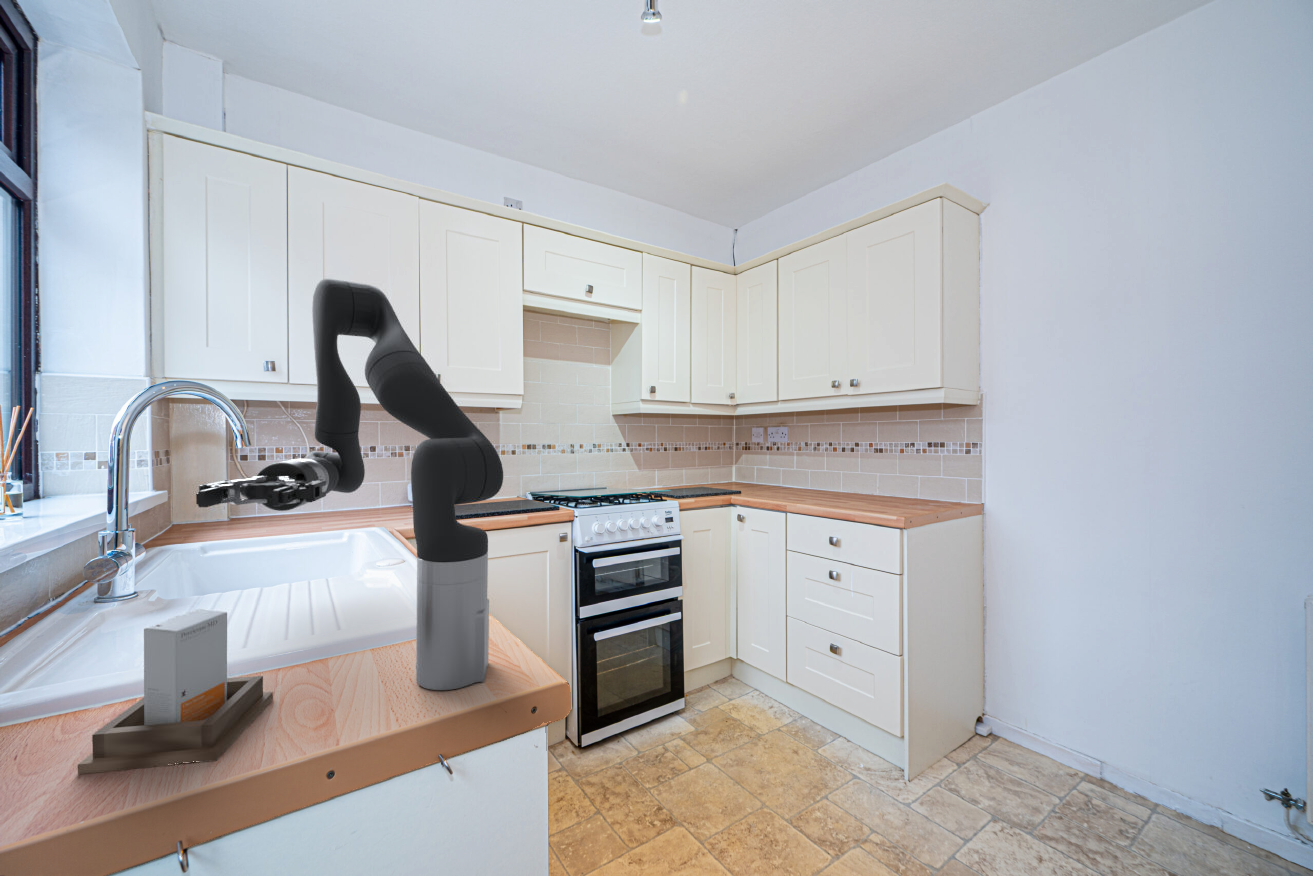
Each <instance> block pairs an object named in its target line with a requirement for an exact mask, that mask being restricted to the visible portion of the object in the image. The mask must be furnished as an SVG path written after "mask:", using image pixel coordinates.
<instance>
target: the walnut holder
mask: <svg viewBox="0 0 1313 876" xmlns="http://www.w3.org/2000/svg"><path fill="white" fill-rule="evenodd" d="M273 697H274V692H273V691H266V692H265V691H264V676H263V675H254V676H242V677H241V676H240V677H229V678H228V677H227V702H226V703H225V704H224V705H223V706H221V707H220V708H219V709H218V710H217V711H216V712H215V713H214V714H213V715H212V716H211V717H210V718H209V719H208V720H201V721H189V722H177V723H166V724H154V725H144V697H142V698H141V699H140V700H138V701H137V702H135V703H134V704H132V705H131V706H130V707H129V708H127V709H126V710H124V711H123V712H122V713H120V714H119V715H117V716H116V717H115V718H113V719H112V720H110V721H109V722H108V723H107V724H105V725H103V726H102V727H101V728H100V729H98V730H97V731H95V732H94V733H93V734H92V735H91V737H92V738H91V739H92V740H91V741H92V753H91V754H89V755H88V756H87V757H85V758H84V759H83V760H82V761H80V762H79V763H77V775H82V774H83V775H84V774H85V775H86V774H93V773H103V772H104V773H105V772H116V771H123V770H136V769H142V768H143V769H145V768H153V767H152V766H156V767H163V765H166V766H169V765H168V764H175V763H176V765H178V764H177V763H183V762H193V761H194V762H196V761H206V762H213V761H212V760H216V761H218V760H219V759H220V758H221V756H222V755H223V754H224V753H225V752H226V751H227V750H228V749H229V748H230V747H231V745H232V744H234V742H235V741H236V740H237V739H238V738H239V737H240V736H241V735H242V734H243V733H244V732H245V730H246V729H247V728H248V727H249V726H250V725H251V724H252V723H253V721H255V719H256V718H257V717H258V716H259V715H260V714H261V713H262V712H263V711H264V710H265V708H266V707H267V706H269V704H270V703H271V702H272V701H273V700H274V698H273ZM217 759H218V760H217ZM210 760H211V761H210ZM196 763H197V762H196ZM161 765H162V766H161Z"/></svg>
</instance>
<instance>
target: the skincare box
mask: <svg viewBox="0 0 1313 876" xmlns="http://www.w3.org/2000/svg"><path fill="white" fill-rule="evenodd" d="M143 660H144V661H143V698H144V725H154V724H166V723H177V722H189V721H201V720H208V719H209V718H210V717H211V716H212V715H213V714H214V713H215V712H216V711H217V710H218V709H219V708H220V707H221V706H223V705H224V704H225V703H226V702H227V678H228V612H226V611H219V610H212V609H211V610H209V609H202V608H198V609H195V610H192V611H190V612H187V613H185V614H180V615H176V616H174V617H171V618H168V619H167V620H164V621H162V622H159V623H155V624H154V625H150V626H148V627H145V628H143Z"/></svg>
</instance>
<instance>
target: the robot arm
mask: <svg viewBox="0 0 1313 876" xmlns="http://www.w3.org/2000/svg"><path fill="white" fill-rule="evenodd" d="M311 309H312V312H311V314H312V317H311V318H312V330H313V331H312V333H313V335H312V336H313V349H314V362H315V372H316V373H315V374H316V385H317V386H316V387H317V389H316V390H317V391H316V392H317V394H316V395H317V396H316V397H317V398H316V399H317V400H316V411H315V421H314V422H315V424H314V438H315V440H316V441H317V442H318V443H319V444H321V445H323V446H326V447H328V448H330V449H332V450H333V451H335V452H337V453H334V452H328V451H322V450H318V451H317V450H314V451H310V452H308V453H307V454H306V456H305V457H304V458H294V459H289V460H283V461H277V462H274V463H271V464H268V465H266V466H265V467H264V468H262V469H261V470H260V471H259V472H258V473H257V474H256V476H252V477H251V478H243V479H232V480H230V479H224V480H221V481H216V482H210V483H203V484H199V485H198V492H197V493H196V494H195V498H196V501H195V502H196V503H195V504H196V505H197V506H198V508H209V507H212V506H217V505H220V504H226V503H227V504H228V503H229V504H230V505H235V506H236V505H237V506H240V505H248V504H258V505H260V504H262V505H263V506H264V507H266V508H268V509H269V510H272V511H278V512H281V511H282V512H286V511H291V510H293V509H297V508H299V507H301V506H305V505H306V504H308V503H313V502H316V501H318V500H320V499H322V498H325V497H326V496H327V494H329V493H330V492H338V493H342V494H343V493H345V494H351V493H353V492H355V491H358V489H359V488H361V486H362V484H363V482H364V480H365V474H366V471H365V470H366V469H365V463H364V459H363V454H362V451H361V446H360V440H359V432H360V421H361V410H362V403H361V398H360V395H359V392H358V389H357V388H356V386H355V384H354V382H353V380H352V379H351V377H350V376H349V374H348V371H347V370H346V369H345V367H344V365H343V362H342V361H341V358H340V355H339V350H338V349H339V348H338V337H339V336H351V337H362V338H369V339H371V340H372V341H373V342H374V343H375V344H374V346H373V348H372V349H371V351H370V353H369V354H368V355H367V359H366V362H365V366H364V377H365V380H366V383H367V384H368V386H369V389H371V391H372V393H373V394H374V396H375V398H376V400H377V401H378V403H379V405H380V406H381V407H382V408H383V410H384V411H386V412H387V413H388V414H389V415H390V416H392V417H393V418H395V419H396V420H397V421H399V422H401V423H402V424H404V425H406V426H408V427H409V428H411V429H413V430H414V431H416V432H418V433H420V434H422V435H424V436H425V437H426V438H428V439H425V440H423V441H421V442H420V443H419V444H418V445H417V446H416V448H415V450H414V453H413V456H412V460H411V468H410V469H411V470H410V481H411V495H412V496H411V497H412V498H411V499H412V516H413V517H412V519H413V520H412V522H413V533H414V534H413V535H414V538H415V543H416V544H415V545H416V648H415V649H416V652H415V653H416V659H415V661H416V663H415V669H416V674H415V675H416V683H417V684H418V686H421V687H422V688H425V689H428V690H432V691H448V690H449V691H450V690H451V691H452V690H455V689H461V688H463V687H467V686H470V685H473V684H474V683H475V684H476V683H482V682H483V683H484V682H485V679H486V675H487V674H486V673H487V670H488V667H489V647H490V645H489V644H490V643H489V642H490V640H489V639H490V638H489V637H490V636H489V634H490V630H489V629H490V600H489V598H488V587H489V586H488V582H489V580H488V579H489V578H488V575H489V573H488V572H489V568H488V567H489V562H488V561H489V557H488V556H489V552H488V551H489V535H488V534H487V532H486V530H484V529H482V528H479V527H477V526H476V527H475V526H471V525H466V524H462V523H460V522H459V521H458V520H457V516H456V509H455V506H456V505H457V506H459V505H464V504H472V503H479V502H483V501H486V500H490V499H492V498H493V497H494V496H496V495H498V493H499V492H500V491H501V489H502V486H503V482H504V468H503V464H502V461H501V458H500V456H499V453H498V451H497V449H496V447H495V446H494V445H493V444H492V442H491V441H490V440H489V439H488V437H487V436H485V434H484V433H483V432H482V431H481V430H480V429H479V428H478V426H476V425H475V424H474V423H473V422H472V420H471V419H470V418H469V417H468V416H467V415H466V414H465V413H464V411H463V410H461V408H460V407H459V405H458V404H457V402H455V400H454V399H453V398H452V397H451V395H450V394H449V393H448V391H447V390H446V389H445V387H444V386H443V385H442V383H441V382H440V380H439V379H438V377H437V376H436V373H435V372H434V371H433V369H432V368H431V366H430V365H429V364H428V362H427V360H426V358H424V357H423V355H422V354H421V353H420V351H419V350H418V349H417V347H415V344H414V343H413V341H412V340H411V339H410V336H409V335H408V334H407V332H406V331H405V329H404V327H403V326H402V324H401V322H400V319H399V318H398V316H397V314H396V312H395V310H394V308H393V306H392V303H391V302H390V301H389V298H388V297H387V296H386V294H385V293H384V292H383V291H382V290H381V289H380V288H379V287H376V286H373V285H371V284H366V283H359V282H353V281H352V282H351V281H348V280H346V281H345V280H341V279H334V278H333V279H332V278H324V279H321V280H320V281H318V283H317V284H316V287H315V289H314V292H313V295H312V307H311ZM241 496H242V497H244V498H245V499H244V498H243V499H242V498H241Z"/></svg>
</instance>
